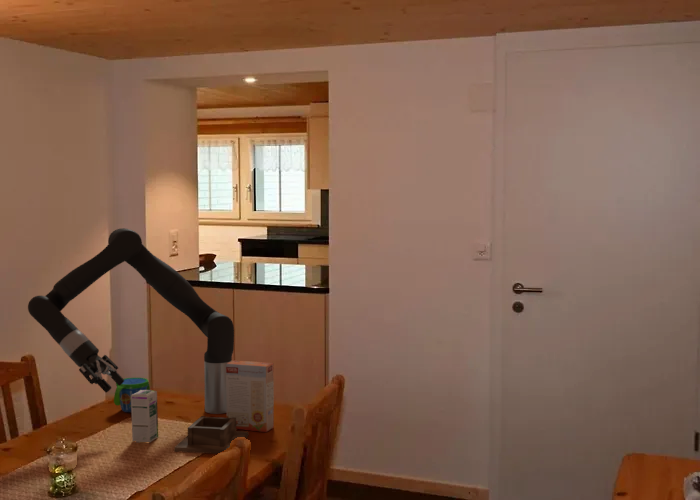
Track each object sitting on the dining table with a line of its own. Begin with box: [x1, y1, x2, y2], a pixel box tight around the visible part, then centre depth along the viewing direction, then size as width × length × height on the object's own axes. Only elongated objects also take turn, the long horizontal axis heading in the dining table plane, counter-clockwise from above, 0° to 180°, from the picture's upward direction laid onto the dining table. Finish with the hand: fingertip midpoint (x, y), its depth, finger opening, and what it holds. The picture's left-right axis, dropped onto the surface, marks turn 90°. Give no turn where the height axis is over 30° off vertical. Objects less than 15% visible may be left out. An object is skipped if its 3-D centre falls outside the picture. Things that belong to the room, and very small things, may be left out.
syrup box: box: [130, 389, 159, 443], centre depth 224 cm, size 6×6×14 cm
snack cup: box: [113, 377, 151, 413], centre depth 256 cm, size 16×10×10 cm
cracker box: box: [226, 360, 275, 433], centre depth 236 cm, size 14×6×21 cm, turn 71°
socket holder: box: [173, 415, 249, 455], centre depth 222 cm, size 17×17×6 cm
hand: (115, 386), depth 225 cm, fingers open, 8 cm apart
